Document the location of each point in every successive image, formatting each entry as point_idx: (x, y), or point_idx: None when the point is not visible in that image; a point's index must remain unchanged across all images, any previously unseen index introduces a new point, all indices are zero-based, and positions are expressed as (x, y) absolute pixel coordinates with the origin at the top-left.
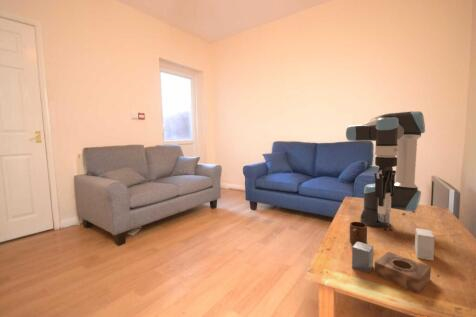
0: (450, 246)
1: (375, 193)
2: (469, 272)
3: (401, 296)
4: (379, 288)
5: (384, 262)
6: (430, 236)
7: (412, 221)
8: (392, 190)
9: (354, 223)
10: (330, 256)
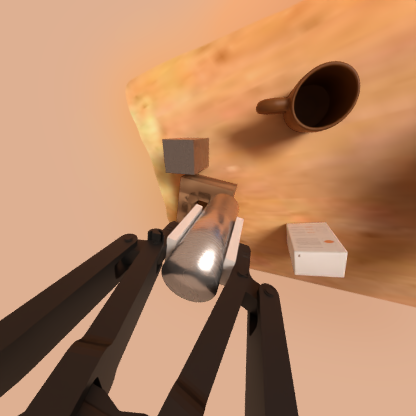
0: (380, 275)
1: (110, 245)
2: (274, 272)
3: (167, 205)
4: (163, 183)
5: (189, 190)
6: (295, 269)
7: None
8: (249, 322)
9: (349, 73)
10: (193, 82)
